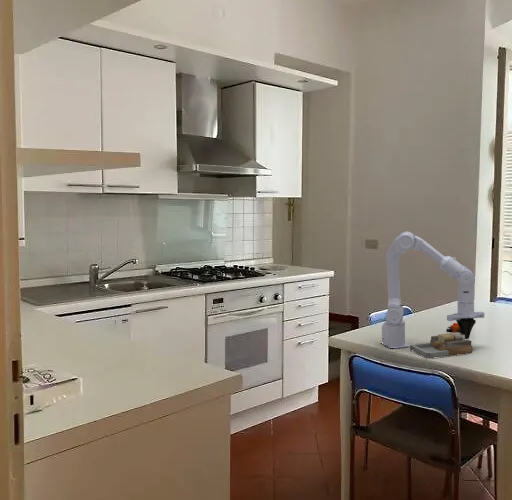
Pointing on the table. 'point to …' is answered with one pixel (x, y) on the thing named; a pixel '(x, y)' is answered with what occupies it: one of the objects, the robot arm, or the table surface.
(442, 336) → the tan wooden block
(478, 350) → the table surface
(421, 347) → the tray
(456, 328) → the toy
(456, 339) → the grey block
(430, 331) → the table surface
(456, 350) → the slot block
